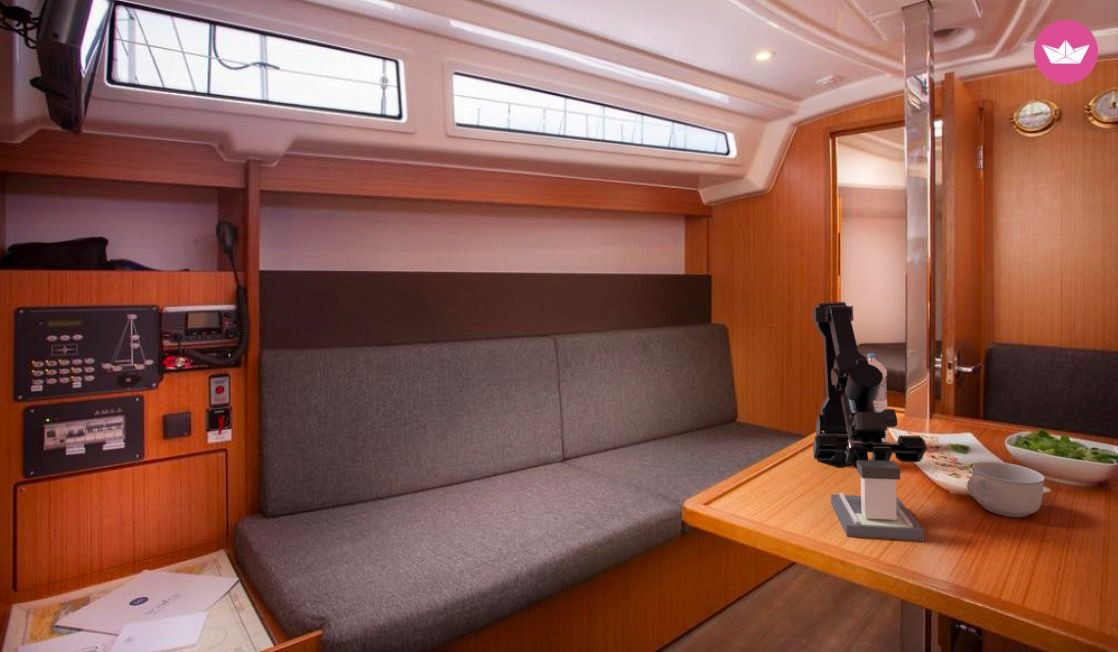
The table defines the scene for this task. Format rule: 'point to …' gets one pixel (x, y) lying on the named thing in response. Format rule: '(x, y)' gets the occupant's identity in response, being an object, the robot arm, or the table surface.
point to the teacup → (1006, 488)
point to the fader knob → (878, 488)
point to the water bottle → (880, 389)
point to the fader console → (875, 521)
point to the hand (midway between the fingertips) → (875, 489)
